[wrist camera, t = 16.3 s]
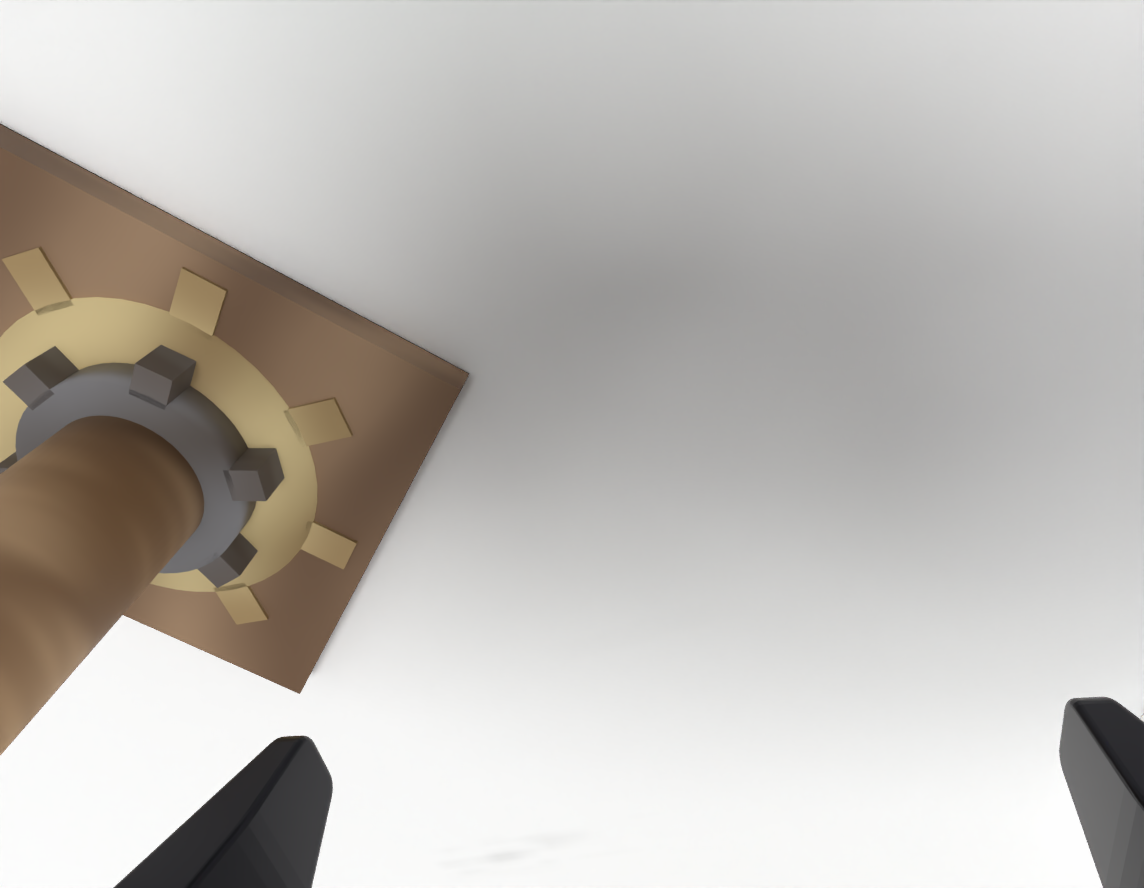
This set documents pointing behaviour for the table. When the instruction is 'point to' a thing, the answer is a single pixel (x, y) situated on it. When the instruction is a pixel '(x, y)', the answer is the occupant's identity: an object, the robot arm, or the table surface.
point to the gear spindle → (110, 508)
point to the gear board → (225, 394)
